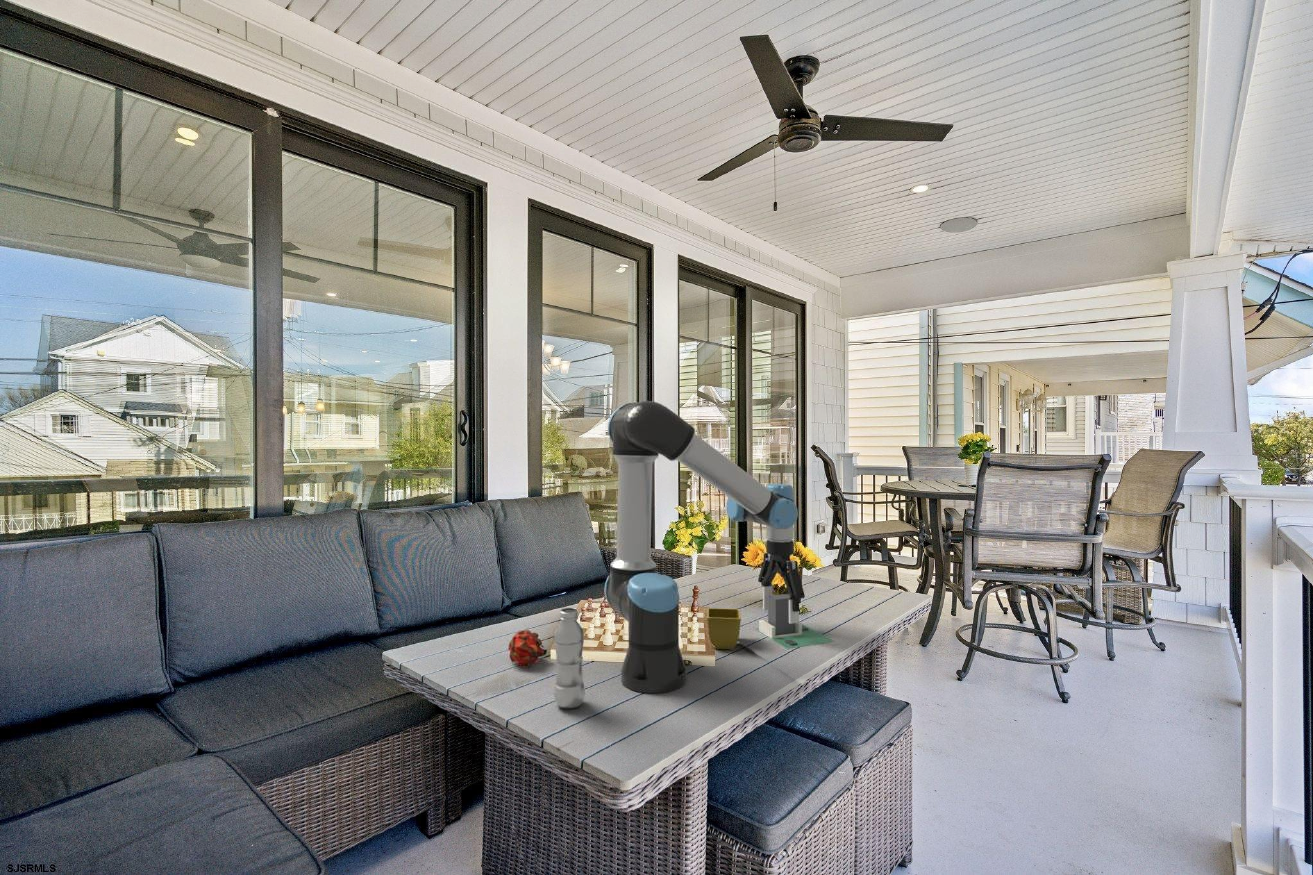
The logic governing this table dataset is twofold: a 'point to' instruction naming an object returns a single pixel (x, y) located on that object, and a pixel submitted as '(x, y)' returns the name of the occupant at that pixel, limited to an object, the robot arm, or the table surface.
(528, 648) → the dragon fruit
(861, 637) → the table surface
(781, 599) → the plug
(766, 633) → the board
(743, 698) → the table surface
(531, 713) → the table surface
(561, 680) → the plastic bottle
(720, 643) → the flower pot
